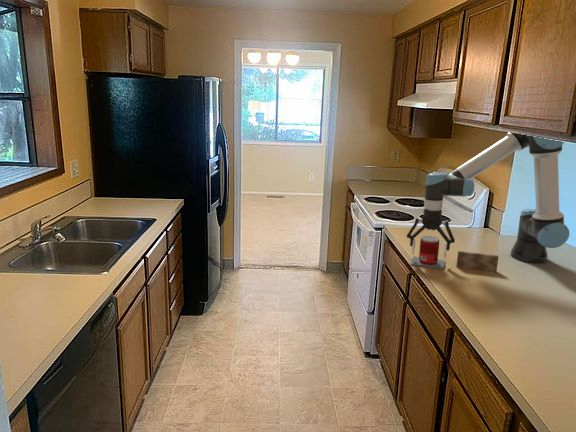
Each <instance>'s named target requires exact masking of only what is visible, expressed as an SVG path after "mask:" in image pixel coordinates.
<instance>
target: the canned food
mask: <svg viewBox="0 0 576 432" xmlns="http://www.w3.org/2000/svg"><path fill="white" fill-rule="evenodd" d="M419 243H420V244H419V255H418V256H419V261H420V262H421V263H423V264H428V265H433V264H436V263H437V262H438V260H439V251H440V250H439V249H440V238H438V237H435V236H431V235H426V236H421V237H420V241H419Z"/></svg>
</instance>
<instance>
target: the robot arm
mask: <svg viewBox="0 0 576 432" xmlns="http://www.w3.org/2000/svg"><path fill="white" fill-rule="evenodd" d="M564 144H565V142H561V141H555V140H549V139H544V138H539V137H533V136H527V135H521V134H515V133H510V131H508V132H506V135H505V137H503V138H502V139H500V140H498V141H497V142H495V143H494V144H493V145H490V147H488V148H486V149H485V150H483V151H482V152H480V153H478V154H477V155H475V156H474V157H473V158H470V159H469V160H468V161H466V162H465V163H463V164H462V165H460V166H459V167H457V168H455V169H454V170H452V171H451V172H446V173H441V172H429V173H428V174H427V175H426V179H425V180H426V182H425V194H424V201H423V203H424V204H423V212H422V213H423V215H422V216H423V217H422V218H419V217H416V218H415V219H414V220H415V221H414V224H413V225H412V226H411V228H410V229H409V231H408V233H407V234H406V238H407V239H409V241H410V243H409V246H410V247H412V249H411V254H412V255H414V254H415V247H416V237H418V235H420V233H422V232H423V231H424V230H425V229H426V230H427V231H429V230H430V231H436V230H437V232H438V233H439V235H440V236H441V237H442V238H443V240H445V243H444V245H445V246H444V252H443V253H444V255H443V258H444V259H446V258H447V251H448V252H449V251H450V247H451V246H450V245H451V244H452V243H453V244H454V243H455V236H454V235H453V232H452V230H451V228H450V225H449V224H450V223H449V220H442V212H443V210H442V209H443V203H444V197H445V196H446V197H471V196H473V194H474V192H475V182H474V180H473V178H475V177H477V176H478V175H480V174H481V173H484V171H486V170H488V169H490V168H491V167H492V166H494V165H496V164H497V163H499V162H500V161H502V160H504V159H505V158H507V157H509V156H510V155H512V154H513V153H514V152H516V151H519V152H520V151H522V150H524V149H525V148H528V150H529V151H528V152H529V155H531V156H532V158H533V166H534V167H533V168H534V169H533V171H534V192H535V193H534V194H535V197H534V198H535V209H534V208H533V209H532V208H527V209H522V210H520V211H521V212H520V215H519V221H518V222H519V223H518V230H517V237H516V241H515V243H514V245H513V246H512V249H511V251H510V257H512V258H513V259H515V260H517V261H522V262H526V263H532V264H533V263H534V264H541V263H546V262H548V257H549V256H548V250H547V248H548V249H557V248H560V247H562V246H563V245H564V244H565V243H567V241H568V239H569V238H570V229H569V227H568V226H567V225H566V224H565V214H564V213H563V212H562V211H561V210H560V189H559V188H560V185H559V179H560V178H559V154H561V152H562V151H563V145H564ZM420 223H422V225H421V227H420V228H419V229H417V231H416V232H414V233H413V231H414V230H415V229H416V228H417V225H418V224H420ZM441 225H443V226H444V227H445V229H446V233H447V234H448V236H449V237H448V236H447V234H446V233H445V232H444V231H443V229H442V228H441ZM412 233H413V234H412Z"/></svg>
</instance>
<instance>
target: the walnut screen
mask: <svg viewBox="0 0 576 432" xmlns="http://www.w3.org/2000/svg"><path fill="white" fill-rule="evenodd" d="M498 263H499V255H495V254H489V253H480V252H472V251H462V250H457V258H456V268H463V269H470V270H476V269H477V270H478V271H485V272H492V273H497V270H498V265H499V264H498Z"/></svg>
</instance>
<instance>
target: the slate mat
mask: <svg viewBox="0 0 576 432" xmlns="http://www.w3.org/2000/svg"><path fill="white" fill-rule="evenodd" d="M445 263H446V260H442V259H438V262H437V263H436V264H433V265H428V264H423V263H421V262H420V261H419V257H418V256H413V257H412V260H411V261H410V266H414V267H421V268H429V269H437V270H444V269H445Z"/></svg>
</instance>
